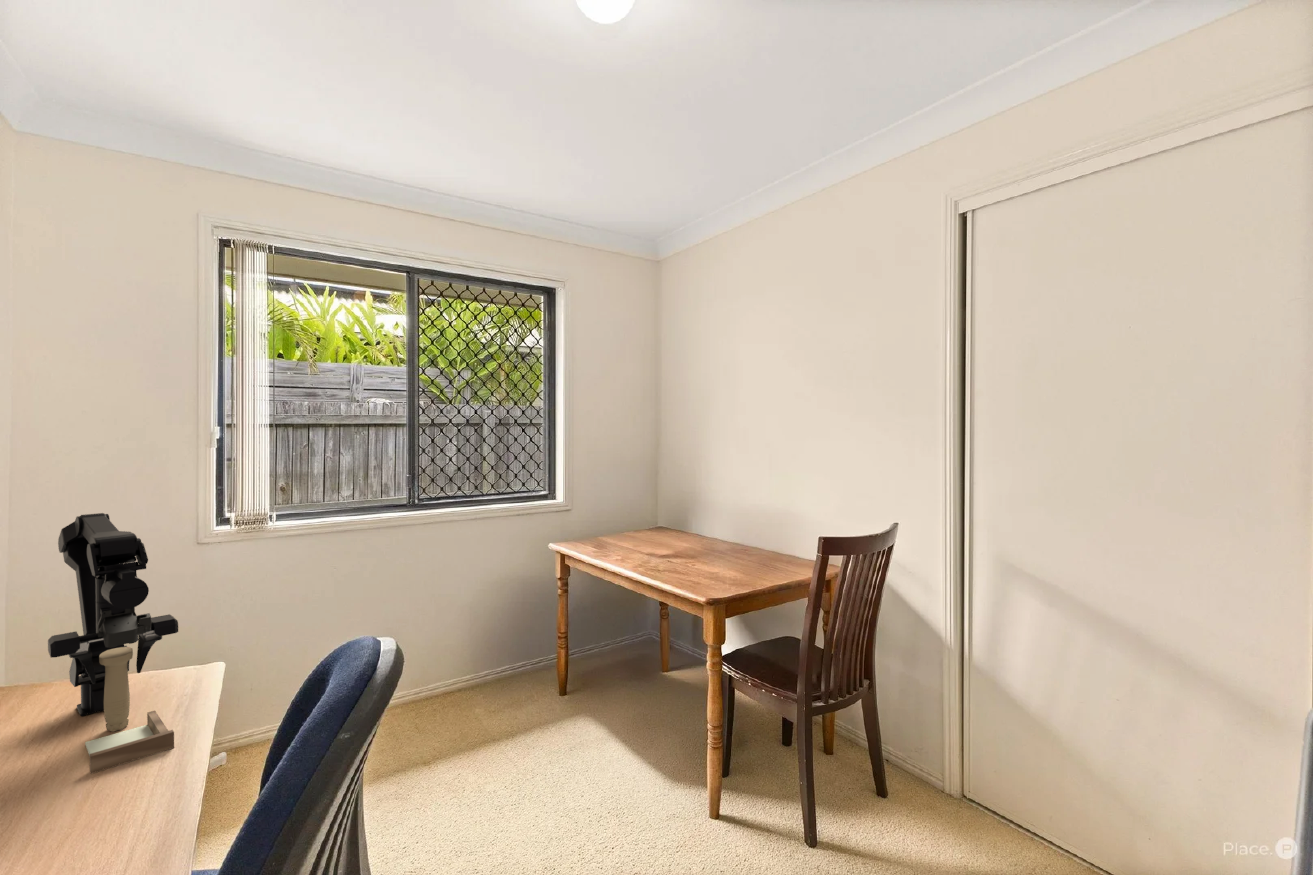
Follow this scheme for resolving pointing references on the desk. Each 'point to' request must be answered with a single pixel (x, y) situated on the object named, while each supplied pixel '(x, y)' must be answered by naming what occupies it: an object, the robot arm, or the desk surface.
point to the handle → (116, 687)
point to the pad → (118, 739)
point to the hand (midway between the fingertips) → (116, 677)
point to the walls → (135, 746)
